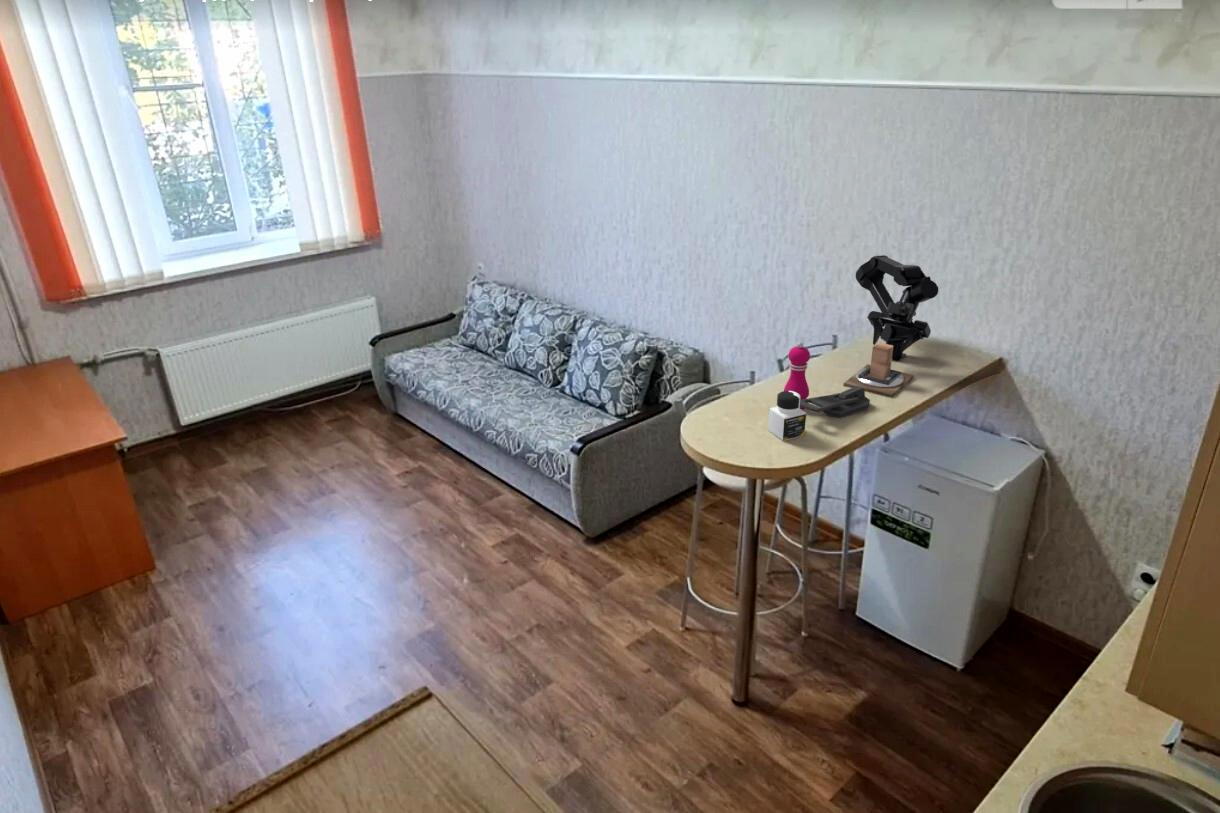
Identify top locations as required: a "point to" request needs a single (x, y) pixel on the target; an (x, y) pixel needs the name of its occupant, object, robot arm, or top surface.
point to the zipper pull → (839, 403)
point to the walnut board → (880, 391)
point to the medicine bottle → (787, 417)
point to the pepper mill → (798, 371)
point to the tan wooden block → (881, 361)
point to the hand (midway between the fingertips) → (887, 347)
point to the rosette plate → (889, 382)
